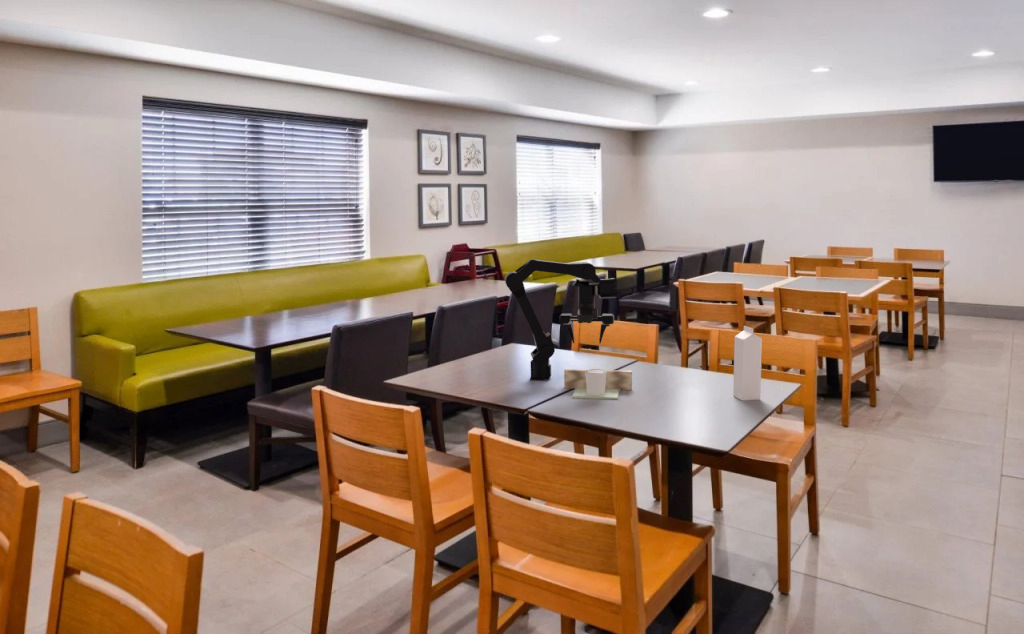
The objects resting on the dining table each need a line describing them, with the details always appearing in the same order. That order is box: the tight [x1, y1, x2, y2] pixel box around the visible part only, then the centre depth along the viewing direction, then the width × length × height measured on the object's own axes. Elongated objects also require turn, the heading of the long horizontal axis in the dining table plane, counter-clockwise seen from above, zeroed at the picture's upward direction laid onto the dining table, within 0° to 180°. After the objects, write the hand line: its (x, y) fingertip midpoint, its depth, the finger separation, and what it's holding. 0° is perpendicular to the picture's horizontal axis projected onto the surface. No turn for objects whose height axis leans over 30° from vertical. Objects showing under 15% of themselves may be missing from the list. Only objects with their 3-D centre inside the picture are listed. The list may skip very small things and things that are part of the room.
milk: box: [732, 325, 763, 402], centre depth 221 cm, size 6×6×22 cm
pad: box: [572, 388, 620, 400], centre depth 230 cm, size 14×10×1 cm
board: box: [563, 368, 633, 391], centre depth 238 cm, size 22×2×6 cm, turn 79°
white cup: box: [585, 368, 607, 395], centre depth 230 cm, size 7×7×7 cm
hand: (586, 343), depth 253 cm, fingers open, 9 cm apart
